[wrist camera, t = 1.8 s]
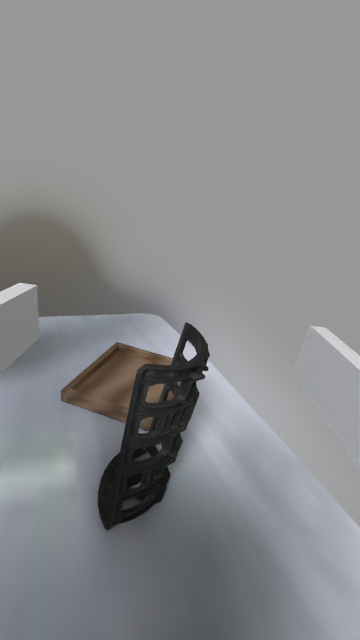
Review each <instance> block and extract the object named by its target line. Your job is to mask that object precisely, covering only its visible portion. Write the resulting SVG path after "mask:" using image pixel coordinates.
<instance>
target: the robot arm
mask: <svg viewBox="0 0 360 640" xmlns="http://www.w3.org/2000/svg"><path fill="white" fill-rule="evenodd" d="M38 339H39V320H38V302H37V285H31V284H23V283H18V284H16V285H14V286H12V287H10V288H8V289H6V290H4V291H1V292H0V374H1V373H2V372H3V371H5V370H6V369H7V368H8V367H9V366H10V365H11V364H12V363H13V362H14V361H15V360H17V359H18V358H19V357H20V356H21V355H22V354H23V353H24V352H25V351H26V350H27V349H29V348H30V347H31V346H32V345H33V344H34V343H35V342H36V341H37V340H38ZM293 374H294V375H295V377H296V378H297V380H298V381H299V383H300V384H301V386H302V387H303V389H304V390H305V391H306V393H307V394H308V396H309V397H310V399H311V400H312V402H313V403H314V405H315V406H316V407H317V409H318V411H319V412H320V414H321V415H322V417H323V418H324V419H325V421H326V422H327V424H328V425H329V427H330V428H331V430H332V431H333V433H334V434H335V436H336V437H337V439H338V440H339V442H340V443H341V444H342V446H343V447H344V449H345V450H346V452H347V453H348V455H349V456H350V458H351V459H352V460H353V462H354V463H355V465H356V466H357V468H358V469H359V471H360V356H359V355H358V354H357V353H355V352H354V351H353V350H352V349H351V348H349V347H348V346H347V345H346V344H344V343H343V342H342V341H341V340H340V339H338V338H337V337H336V336H335V335H334V334H332V333H331V332H330V331H329V330H327V329H326V328H323V327H316V326H310V329H309V331H308V334H307V336H306V339H305V342H304V344H303V347H302V350H301V352H300V355H299V358H298V360H297V363H296V366H295V369H294V371H293Z"/></svg>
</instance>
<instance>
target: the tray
mask: <svg viewBox="0 0 360 640" xmlns="http://www.w3.org/2000/svg"><path fill="white" fill-rule="evenodd" d="M172 360H173V358H170V357H166V356H163V355H160V354H156V353H153V352H149V351H146V350H142V349H139V348H135V347H132V346H129V345H125V344H122V343H118V342H116V343H115V344H114V345H113V346H112V347H111V348H110V349H108V350H107V351H106V352H105V353H104V354H103V355H101V356H100V357H99V358H98V359H97V360H96V361H95V362H93V363H92V364H91V365H90V366H89V367H88V368H86V369H85V370H84V371H83V372H82V373H81V374H79V375H78V376H77V377H76V378H75V379H74V380H73V381H71V382H70V383H69V384H68V385H67V386H66V387H64V388H63V389H62V390H61V401H64V402H67V403H70V404H73V405H76V406H79V407H81V408H84V409H87V410H90V411H93V412H96V413H98V414H101V415H104V416H107V417H110V418H113V419H115V420H118V421H121V422H124V423H126V419H127V414H128V410H129V404H130V400H131V395H132V391H133V385H134V381H135V377H136V373H137V370H138V369H139V368H140V367H141V366H143V365H144V364H155V365H171V363H172ZM180 383H181V381H180V382H177V384H178V386H180ZM163 387H164V384H156V385H152V386H149V388H148V392H147V396H146V402H147V403H158V402H159V399H160V396H161V393H162V390H163ZM173 398H175V397H174V395H173V394H172V392H171V391H169V394H168V398H167V401H168V400H171V399H173ZM152 420H153V417H150V418H146V419H143V420H141V423H140V427H139V428H141V429H144V430H147V431H149V429H150V426H151V423H152Z"/></svg>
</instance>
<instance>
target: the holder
mask: <svg viewBox="0 0 360 640" xmlns="http://www.w3.org/2000/svg"><path fill="white" fill-rule="evenodd" d="M187 340H189V341H190V342H191V343H192V345H193V346H194V347H195V349H196V352H197V355H196V356H195V357H194V358H193V359H191V360H190V361H187V360H186V359H185V357H184V355H183V350H184V347H185V344H186V341H187ZM209 356H210V354H209V352H208V344H207V343H206V341H205V339H204V337H203V336H202V335H201V334H200V333H199V332H198V330H197V329H196V328H195V327H193V326H192V325H191V324H189V323H187V322H186V323H185V325H184V329H183V332H182V334H181V337H180V340H179V343H178V346H177V348H176V351H175V354H174V357H173V360H172V363H171V365H155V364H144V365H143V366H141V367H140V368H139V369H138V370H137V373H136V377H135V381H134V385H133V391H132V395H131V400H130V404H129V410H128V414H127V419H126V425H125V430H124V435H123V440H122V445H121V450H120V453H119V454H118V455H116V456H115V457H114V458H113V459H112V461H111V462H110V463H109V465H108V466H107V468H106V469H105V471H104V474H103V476H102V478H101V482H100V486H99V491H98V508H99V513H100V518H101V520H102V523H103V525H104V527H105V529H106V530H109V529H111V528H112V527H113V526H115V525H117V524H120V523H124V522H127V521H130V520H132V519H135V518H137V517H138V516H140V515H142V514H143V513H145V512H146V511H147V510H148V509H150V508H151V507H152V506H153V504H156V503H159V502H161V501H162V498H163V496H164V493H165V490H166V485H167V483H168V480H169V478H170V473H169V471H168V468H167V465H169V464H171V463H174V462H175V460H176V457H177V454H178V451H179V449H180V447H181V444H182V442H183V441H182V439H181V436H180V432H183V431H185V430H186V428H187V425H188V422H189V421H190V418H191V416H192V413H193V410H194V407H195V405H196V402H197V399H198V397H199V392H198V390H197V387H196V381H198V380H201V379H204V378H205V375H204V374H202V371H208V367H207V366H206V364H207V360H208V358H209ZM180 381H181V383H180V386H178V384H177V382H180ZM156 384H164V387H163V390H162V393H161V396H160V399H159V402H158V403H147V402H146V396H147V392H148V388H149V386H152V385H156ZM169 391H171V392H172V394H173V395H174V397H175V398H173V399H171V400H168V401H167V398H168V394H169ZM150 417H153V420H152V423H151V426H150V429H149V433H146V434H138V431H139V427H140V423H141V420H143V419H146V418H150ZM159 443H161V445H162V449H161V451H160V452H158V450H157V448H156V447H155V445H156V444H159ZM147 452H149V454H150V455H151V457H150V458H148V459H145V460H141V461H135V462H132V461H133V459H135V458H137V457H139V456H141V455H143V454H145V453H147ZM131 498H136V499H139V500H141V502H140V503H138V504H137V505H135V506H133V507H131V508H128V509H126V510H121V509H122V504H123V502H124V501H126V500H129V499H131Z"/></svg>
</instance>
